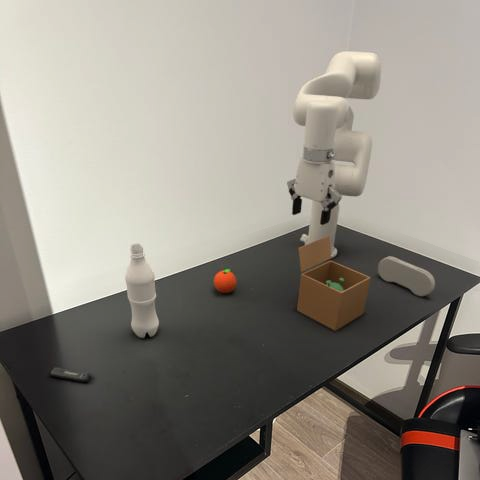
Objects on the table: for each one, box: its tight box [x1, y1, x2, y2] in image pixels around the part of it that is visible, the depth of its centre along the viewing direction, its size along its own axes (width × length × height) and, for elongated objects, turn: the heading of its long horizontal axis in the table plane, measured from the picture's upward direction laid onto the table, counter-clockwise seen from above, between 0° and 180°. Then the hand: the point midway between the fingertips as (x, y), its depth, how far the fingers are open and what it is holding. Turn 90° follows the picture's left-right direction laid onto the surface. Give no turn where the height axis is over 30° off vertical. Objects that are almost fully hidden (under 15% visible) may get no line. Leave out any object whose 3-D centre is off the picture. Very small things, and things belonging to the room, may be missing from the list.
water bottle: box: [124, 243, 160, 339], centre depth 114 cm, size 7×7×25 cm
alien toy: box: [326, 278, 344, 292], centre depth 129 cm, size 7×8×10 cm
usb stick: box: [49, 366, 92, 383], centre depth 104 cm, size 10×3×2 cm, turn 77°
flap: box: [297, 236, 332, 273], centre depth 127 cm, size 7×13×1 cm
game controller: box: [377, 255, 436, 297], centre depth 143 cm, size 20×2×8 cm, turn 39°
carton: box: [296, 260, 372, 332], centre depth 128 cm, size 14×13×12 cm
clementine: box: [213, 268, 237, 294], centre depth 138 cm, size 8×7×7 cm
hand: (310, 218), depth 124 cm, fingers open, 9 cm apart
